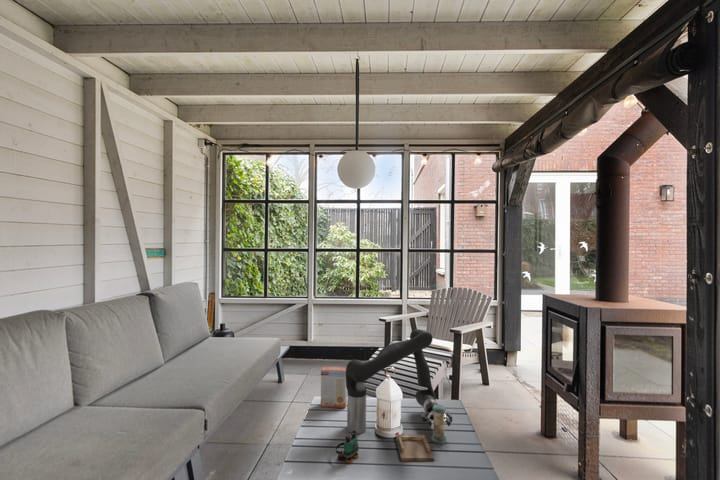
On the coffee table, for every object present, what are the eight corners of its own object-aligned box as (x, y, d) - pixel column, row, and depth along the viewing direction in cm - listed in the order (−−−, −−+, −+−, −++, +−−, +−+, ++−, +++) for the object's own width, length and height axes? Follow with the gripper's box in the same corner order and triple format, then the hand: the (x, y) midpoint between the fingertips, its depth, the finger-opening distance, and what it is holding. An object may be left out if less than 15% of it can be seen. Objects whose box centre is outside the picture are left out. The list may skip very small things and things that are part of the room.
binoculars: (341, 427, 173) (361, 430, 168) (343, 451, 173) (362, 456, 168) (329, 435, 166) (349, 439, 161) (331, 460, 165) (351, 465, 160)
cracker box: (346, 404, 222) (347, 367, 222) (345, 408, 216) (345, 370, 216) (322, 402, 223) (322, 366, 223) (320, 407, 217) (320, 369, 217)
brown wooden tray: (401, 460, 164) (401, 454, 164) (395, 437, 184) (395, 431, 184) (434, 460, 165) (434, 454, 165) (424, 437, 185) (424, 431, 185)
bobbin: (432, 444, 179) (433, 410, 179) (429, 436, 186) (430, 404, 186) (448, 444, 179) (448, 410, 179) (444, 436, 186) (444, 404, 186)
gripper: (418, 401, 196) (424, 415, 180) (446, 401, 197) (455, 415, 181) (418, 416, 196) (424, 432, 180) (446, 416, 197) (455, 432, 181)
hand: (439, 424), depth 180 cm, fingers open, 8 cm apart
